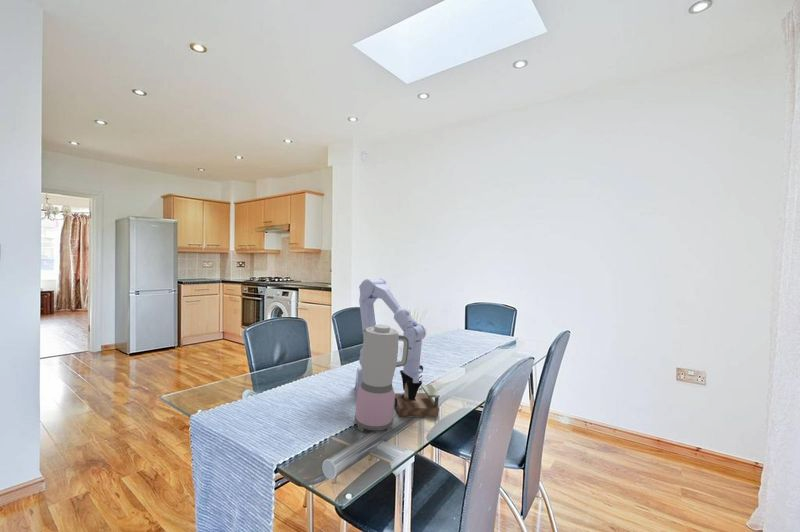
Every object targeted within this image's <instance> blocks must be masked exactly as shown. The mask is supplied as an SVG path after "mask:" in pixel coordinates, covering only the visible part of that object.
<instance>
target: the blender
mask: <svg viewBox="0 0 800 532" xmlns="http://www.w3.org/2000/svg"><path fill="white" fill-rule="evenodd" d="M361 332H362V333H363V332H364V337H363V339H362V340H363V342H362V347H363V349H362V348H361V349H362V374H363V381H362V384H361V386H360V388H359V390H358V393H357V392H356V405H355V406H356V407H355V414H354V421H355V424H356V425H357V429H358V430H359V431H361V432H363V431H364V430H369V431H370V430H371V431H380V430H386V431H387V430H388V431H390V430H391V428H392V425H393V420H394V409H395V407H397V398H395V393H396V392H395V390H394V387H393V380H394V379H393V378H394V376H395V371H396V369H397V368H400V367H404V365H405V364H406V362H407V357H408V348H409V341H408V339H407V337H405V336H403V335H402V334H401V335H400V334H399V331H398V330H397V329H395V328H392V327H391V326H389V325H387V324H376V325H375V326H374V327H369V328H367V329H365V330H363V329H362V331H361ZM399 341H400V342H403V346H402V356H401V360H399V361H398V353H399ZM389 429H390V430H389Z"/></svg>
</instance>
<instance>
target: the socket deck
mask: <svg viewBox="0 0 800 532" xmlns="http://www.w3.org/2000/svg"><path fill="white" fill-rule="evenodd" d="M420 387H421V388H422V390H423V391H424V392H417V394H416V397H415V399H414V400H412V401H404V392H401V393H400V392H397V393H396V392H395V398H397V407H394V409H395V410H396V412H397V415H398V417H399V418H404V417H405V416H406V417H405V418H408V417H407V416H418V417H439V414H440V413H439V412H440V407H439V401H440V399H439V398H440V394H439V392H438V391H437V390H436V388H435V387H434V386H433V385H432V384H422V385H421V386H420ZM433 398H434V399H433Z"/></svg>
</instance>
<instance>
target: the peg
mask: <svg viewBox="0 0 800 532" xmlns="http://www.w3.org/2000/svg"><path fill="white" fill-rule="evenodd" d="M403 391H404V392H403V393H404V401H412V400H409V398H408V387H407V383H406V384H405V390H403Z"/></svg>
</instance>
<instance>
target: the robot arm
mask: <svg viewBox="0 0 800 532" xmlns="http://www.w3.org/2000/svg"><path fill="white" fill-rule="evenodd" d="M358 299H359V300H358V302H359V310H360V320H361V325H362V326H361V329H362V331H363V330H365V329H367V328H369V327H374V326H375V325H377V324H376V323H377V322H376V314H375V307H374V306H375V305H374V303H375V302H376V301H377V299H381V300H382V301H383V302H384V303H385V304H386V306H387V307H388V308H389V309H390V311H392V313H393V319H394V321H395V322H396V323H397V325H398V326H399V328H400V329H401V330H402V332H403V333H402V334H403V335H402V336H405V337H407V339H408V341H409V348H408V357H407V362H406V364H405V365H404V366H402V369H401V370H399V373H400V376H401V380H402V389H403V391H404V390H405V384H406V383H407V387H408V398H409V400H414V399H415V397H416V394H417V393H418V392H419V389H420V387H421V385H423V381H422V380H420V381H419V379H420V378H419V377H420V374H422V373H423V372H422V370H421V369H419V366H420V363H421V356H422V355H421V354H422V344H423V340H424V339H425V337H426V334H427V333H426V329H425V327H424V325H422V324H420V323H418V322H417V321H416V320H415V319H414V317H413V316H412V315H411V312H410V310H407V309H406V308H402V307H401V305H400V303H399V302H398V301H397V299H396V298H395V296H394V294H393V292H391V290H390V285H389V284H388V282H387V281H386V280H385V279H383V278H379V279H376V278H375V279H364V280H363V281H362V282H361V283H360V285H359V297H358ZM362 335H363V337H362V338H364V332H362ZM362 349H363V346H362V347H361V348H360V350H359V353H360V355H359V359H358V360H359V365H360V367H357V369H356V374H355V375H356V376H355V383H354V386H355V390H356V394H357V393H358V390H359V388H360V386H361V384H362V381H363V374H362ZM419 373H420V374H419Z"/></svg>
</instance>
